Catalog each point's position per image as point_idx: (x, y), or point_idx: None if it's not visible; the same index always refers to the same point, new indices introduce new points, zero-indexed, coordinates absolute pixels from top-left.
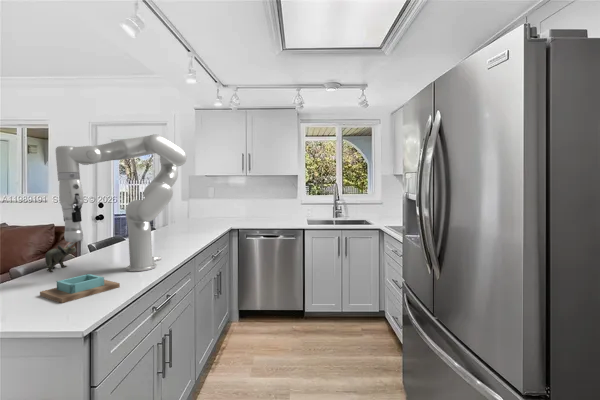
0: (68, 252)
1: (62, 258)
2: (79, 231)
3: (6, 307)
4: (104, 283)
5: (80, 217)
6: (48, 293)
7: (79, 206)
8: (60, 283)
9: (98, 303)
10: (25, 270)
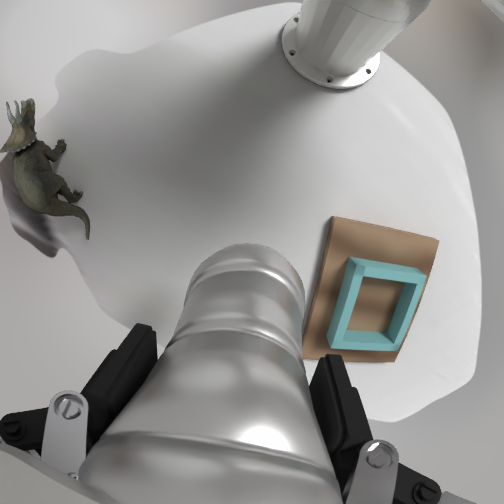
0: (32, 126)
1: (45, 151)
2: (302, 311)
3: None
4: (406, 256)
5: (346, 386)
6: None
7: (432, 502)
8: (350, 347)
9: (451, 327)
10: (20, 215)
